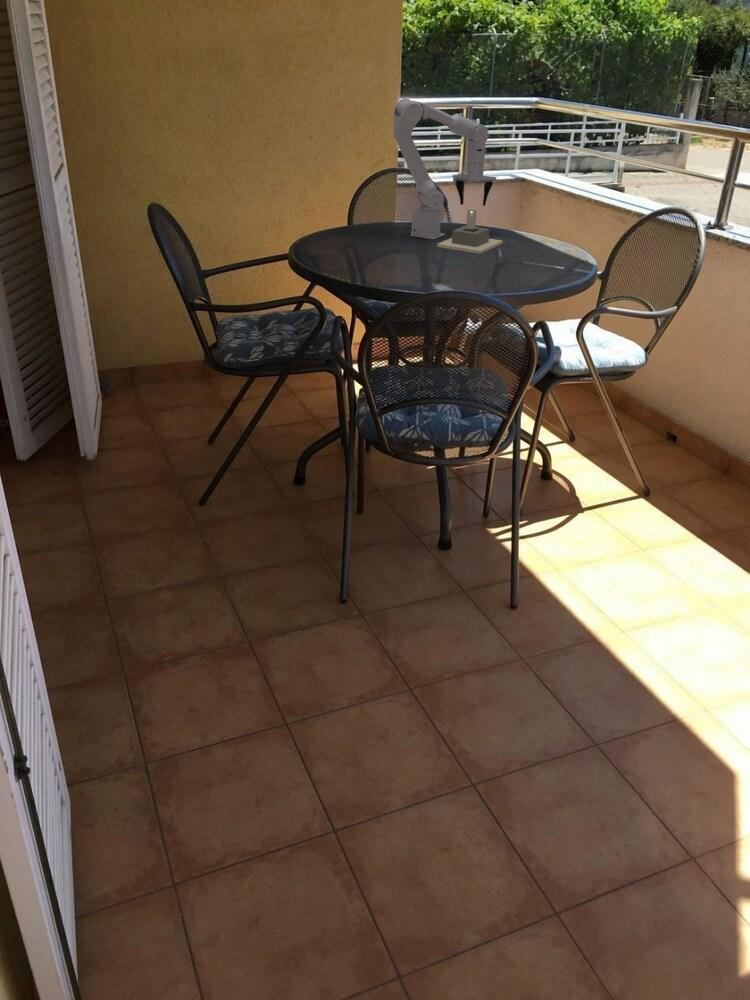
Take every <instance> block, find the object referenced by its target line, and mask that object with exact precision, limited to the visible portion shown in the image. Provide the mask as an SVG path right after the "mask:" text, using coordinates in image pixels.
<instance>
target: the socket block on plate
mask: <svg viewBox="0 0 750 1000" xmlns="http://www.w3.org/2000/svg"><path fill="white" fill-rule="evenodd" d="M466 226H467V224H466V225H464V226H461V227H458V228H455V229H453V230H452V231H451V237H450V238H448V239H446V240H443V241H441V242H439V243H436V247H437V248H442V249H447V250H454V251H460V252H465V253H466V252H467V253H474V254H479V255H482V254H484V253H485V252H487V251H489V250H492V249H494V248H496V247H499V246H500V245H503V242H504V241H503V240H502V239H501V240H500V239H494V238H490V228H484V227H477V226H476V229H475V232H471V231H466Z"/></svg>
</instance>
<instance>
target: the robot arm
mask: <svg viewBox="0 0 750 1000" xmlns="http://www.w3.org/2000/svg"><path fill="white" fill-rule="evenodd" d="M426 119H431V120H434V121H436V122H439V123H441V124H443V125H445V126H447V127H448V130H449V132H451V133H452V134H454V135H457V136H460V137H462V138H464V139H467V140H468V143H467V156H466V157H467V158H466V174H453V176H452V182H453V183H455V187H456V190H457V193H458V195H459V200H460V205H463V204H464V199H465V197H464V195H465V194H464V192H465V183H477V184H479V183H480V184H483V200H482V207H486V203H487V199H488V195H489V193H490V190H491V189H492V187H493V185H496V184H497V176H490V175H489V176H488V175H484V169H485V155H486V143H487V141H488V139H489V137H490V133H489V130H488V128H487V126H485V125H484V124H481V123H478V122H477V120H476V119H471V118H468V117H466V116H465V114H464V113H462V112H460V113H455V114H453V115H451V114H449V113H446V112H445V111H442V110H440V109H439V108H436V107H434V106H432V105H431V104H428V103H424V102H420V101H416V100H411V99H409V98H406V97H405V98H402V99H399V100H398V102H397V103H396V106H395V107H394V109H393V137H394V139H395V141H396V144H397V145H398V148H399V150H400V152H401V155H402V157H403V159H404V161H405V164H406V165H407V168H408V170H409V171H410V174H411V176H412V178H413V180H414V183H415V184H416V185H415V189H416V191H417V200H418V202H419V204H420V206H419V207H415V208H414V210H413V212H412V214H411V233H410V235H409V236H410V237H418V238H422V239H429V240H435V239H438V238H441V237H443V236H445V235H446V234H445V233H444V232H443V233H442V232H441V218H442V217H441V216H442V210H441V209H442V207H443V205H444V202H445V197H444V195H443V193H442V192H441V191H439V190H438V189H437V186H436V185H435V183H434V182H433V181H432V179H431V177H430V175H429V173H428V170H427V168H426V165H425V164H424V161H423V160H422V157H421V155H420V152H419V150H418V148H417V146H416V143H415V141H414V140H413V138H412V137H413V136H412V133H413V132H414V128H415V127H416V125H417V124H418V123H419V122H420V121H421V120H426Z"/></svg>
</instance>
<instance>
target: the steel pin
mask: <svg viewBox="0 0 750 1000" xmlns="http://www.w3.org/2000/svg"><path fill="white" fill-rule="evenodd" d="M477 212H478V211H477V210H475V209H468V210H467V213H466V231H471V232H475V229H476V227H477Z"/></svg>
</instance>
